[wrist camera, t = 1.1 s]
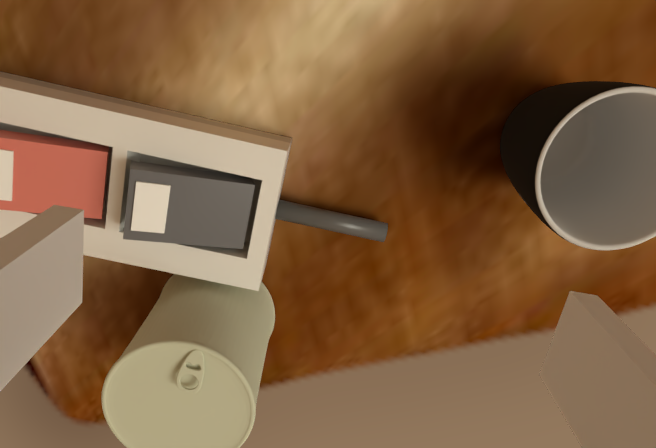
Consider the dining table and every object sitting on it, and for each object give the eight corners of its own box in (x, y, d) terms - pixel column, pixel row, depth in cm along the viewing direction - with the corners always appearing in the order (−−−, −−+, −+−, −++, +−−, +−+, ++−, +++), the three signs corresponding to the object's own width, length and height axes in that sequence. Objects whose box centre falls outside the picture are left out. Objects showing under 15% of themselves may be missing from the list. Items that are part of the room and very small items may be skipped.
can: (290, 281, 41) (275, 374, 30) (255, 375, 44) (229, 492, 33) (175, 243, 40) (115, 324, 29) (147, 342, 43) (82, 451, 32)
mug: (464, 180, 39) (508, 229, 29) (511, 55, 36) (576, 63, 26) (616, 221, 40) (707, 281, 30) (674, 103, 37) (794, 128, 27)
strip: (-139, 179, 39) (-203, 198, 34) (-149, 37, 35) (-221, 37, 31) (366, 285, 41) (371, 317, 37) (401, 163, 38) (411, 180, 34)
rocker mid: (-25, 196, 34) (-34, 207, 32) (-25, 126, 33) (-34, 133, 31) (103, 209, 37) (101, 219, 35) (109, 145, 35) (107, 152, 34)
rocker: (124, 227, 35) (122, 240, 33) (131, 160, 33) (130, 169, 32) (239, 238, 37) (243, 250, 36) (250, 176, 36) (255, 185, 34)
